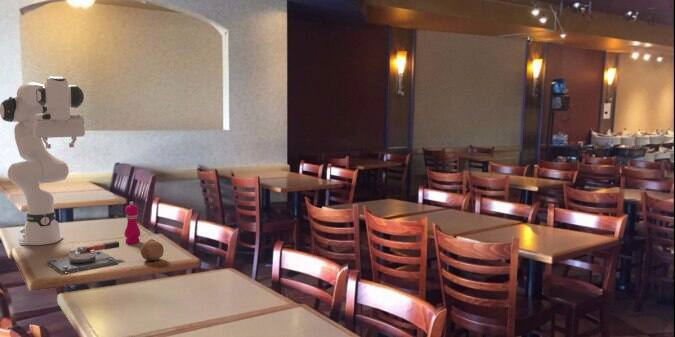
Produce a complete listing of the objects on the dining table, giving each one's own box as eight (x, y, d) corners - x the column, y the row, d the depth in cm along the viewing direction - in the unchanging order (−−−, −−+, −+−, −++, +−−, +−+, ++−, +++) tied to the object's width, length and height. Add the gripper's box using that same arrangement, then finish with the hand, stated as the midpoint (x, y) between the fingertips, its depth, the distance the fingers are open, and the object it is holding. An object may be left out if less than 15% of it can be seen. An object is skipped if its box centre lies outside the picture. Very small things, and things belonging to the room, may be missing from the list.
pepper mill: (135, 245, 265) (134, 203, 262) (121, 243, 266) (120, 202, 263) (143, 241, 272) (142, 200, 269) (130, 240, 273) (128, 199, 271)
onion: (149, 265, 244) (148, 242, 247) (168, 261, 242) (167, 238, 245) (136, 263, 235) (135, 239, 238) (155, 258, 233) (154, 235, 236)
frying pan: (74, 264, 227) (73, 252, 226) (65, 259, 234) (65, 247, 233) (122, 255, 240) (122, 244, 240) (113, 250, 248) (113, 239, 247)
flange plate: (47, 263, 233) (47, 258, 233) (101, 254, 248) (101, 249, 248) (61, 274, 220) (61, 268, 220) (117, 263, 235) (117, 258, 235)
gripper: (81, 115, 247) (82, 146, 249) (30, 115, 233) (32, 148, 234) (86, 115, 243) (87, 147, 244) (35, 115, 228) (37, 149, 230)
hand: (60, 147), depth 239 cm, fingers open, 8 cm apart
